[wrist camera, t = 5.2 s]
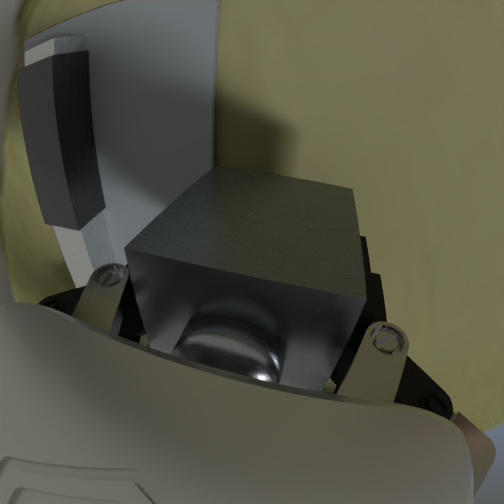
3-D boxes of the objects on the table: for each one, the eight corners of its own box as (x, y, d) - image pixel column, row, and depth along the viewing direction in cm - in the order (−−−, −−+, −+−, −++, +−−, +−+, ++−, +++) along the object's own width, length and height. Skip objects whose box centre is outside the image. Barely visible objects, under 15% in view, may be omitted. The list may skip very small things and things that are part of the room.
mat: (220, -15, 8) (217, -17, 8) (219, 361, 25) (218, 365, 24) (28, 40, 10) (24, 41, 10) (94, 321, 27) (92, 324, 26)
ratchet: (161, 346, 25) (134, 400, 20) (102, 325, 26) (72, 370, 21) (114, 26, 10) (20, 32, 5) (35, 54, 11) (-40, 76, 6)
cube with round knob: (352, 188, 10) (368, 336, 5) (324, 296, 13) (305, 438, 8) (213, 166, 11) (99, 273, 6) (214, 273, 14) (147, 394, 9)
